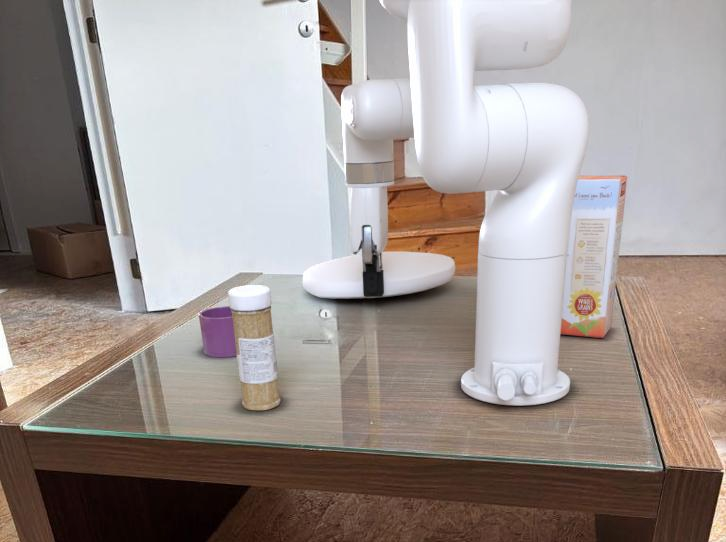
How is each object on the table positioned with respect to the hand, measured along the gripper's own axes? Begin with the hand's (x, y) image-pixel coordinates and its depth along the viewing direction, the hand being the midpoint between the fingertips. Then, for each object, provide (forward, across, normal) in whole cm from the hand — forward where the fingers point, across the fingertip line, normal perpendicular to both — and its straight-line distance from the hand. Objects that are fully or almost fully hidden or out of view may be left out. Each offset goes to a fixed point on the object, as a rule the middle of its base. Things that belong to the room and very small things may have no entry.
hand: (373, 295), depth 120 cm
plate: (+3, -15, -1) cm, 15 cm away
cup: (+3, +22, -18) cm, 29 cm away
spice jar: (+3, +43, -7) cm, 44 cm away
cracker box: (+3, +11, +29) cm, 31 cm away
